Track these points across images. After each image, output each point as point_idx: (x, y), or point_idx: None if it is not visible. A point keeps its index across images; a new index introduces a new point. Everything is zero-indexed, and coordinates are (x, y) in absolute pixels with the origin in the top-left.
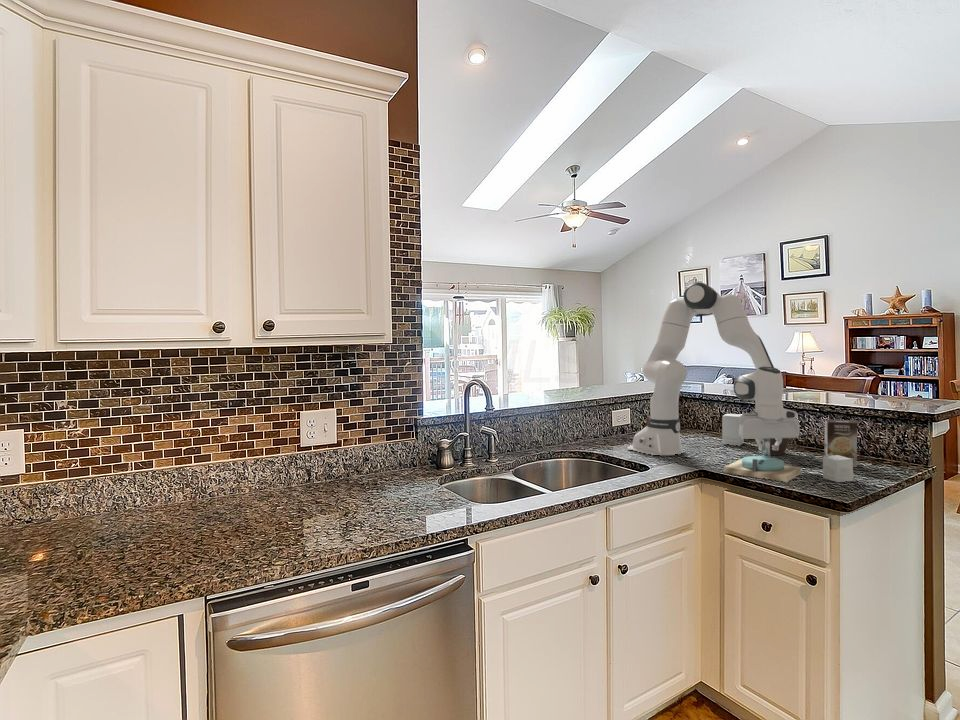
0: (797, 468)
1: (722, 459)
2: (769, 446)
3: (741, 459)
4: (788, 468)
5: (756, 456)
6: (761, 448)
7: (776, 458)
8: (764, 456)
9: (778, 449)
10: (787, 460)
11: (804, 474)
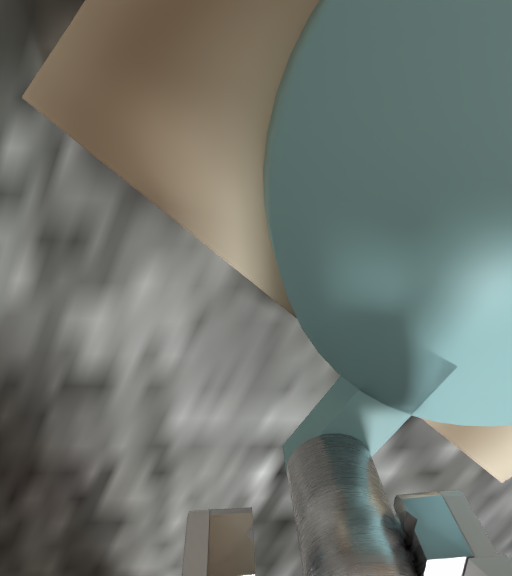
0: (89, 41)
1: None
2: (339, 561)
3: (503, 471)
4: (223, 53)
5: (491, 407)
6: (467, 515)
7: (301, 299)
8: (395, 405)
9: (189, 518)
10: (34, 543)
11: (22, 33)
